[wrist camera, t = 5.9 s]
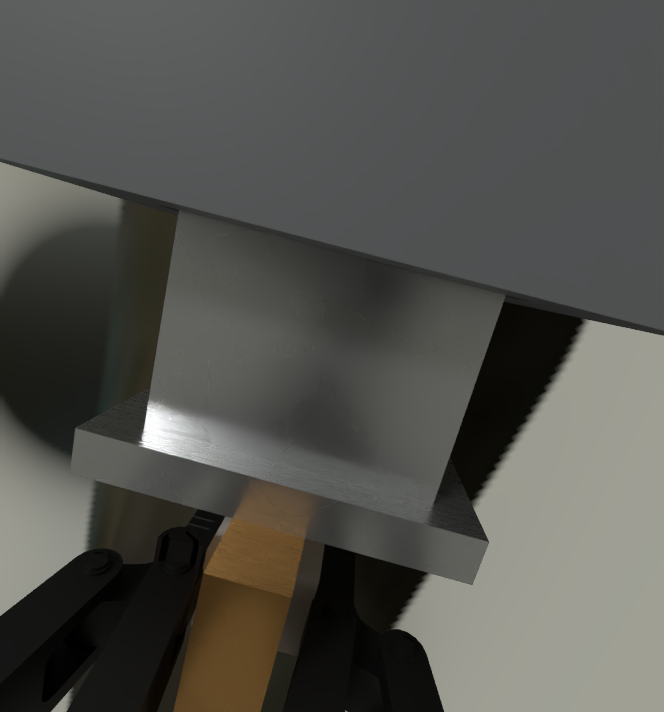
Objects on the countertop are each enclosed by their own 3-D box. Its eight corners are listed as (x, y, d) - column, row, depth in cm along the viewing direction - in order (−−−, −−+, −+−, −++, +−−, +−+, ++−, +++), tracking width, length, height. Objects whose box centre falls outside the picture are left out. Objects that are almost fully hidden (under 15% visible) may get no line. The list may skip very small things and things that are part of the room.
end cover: (264, 65, 15) (75, -329, 5) (523, 130, 15) (842, -154, 5) (180, 505, 19) (-14, 753, 9) (382, 561, 19) (402, 876, 9)
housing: (279, -104, 17) (-43, -1540, 4) (600, -27, 17) (1594, -1281, 3) (218, 228, 20) (-81, 137, 7) (490, 298, 20) (765, 356, 6)
